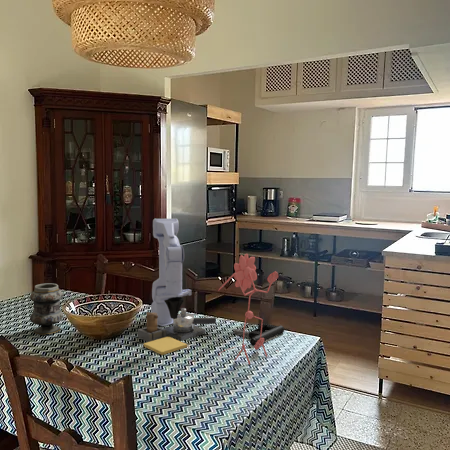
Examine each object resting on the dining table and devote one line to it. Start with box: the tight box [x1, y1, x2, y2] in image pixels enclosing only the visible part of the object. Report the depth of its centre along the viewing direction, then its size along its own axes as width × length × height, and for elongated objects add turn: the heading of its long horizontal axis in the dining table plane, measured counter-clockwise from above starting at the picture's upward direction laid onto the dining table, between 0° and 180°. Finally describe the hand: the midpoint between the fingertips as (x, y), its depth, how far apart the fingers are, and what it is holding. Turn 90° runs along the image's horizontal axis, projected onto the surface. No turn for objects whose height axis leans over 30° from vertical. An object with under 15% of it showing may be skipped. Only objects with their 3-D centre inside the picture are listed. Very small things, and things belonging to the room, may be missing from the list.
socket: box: [137, 325, 167, 343], centre depth 169 cm, size 8×8×3 cm
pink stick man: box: [218, 253, 279, 365], centre depth 152 cm, size 15×26×35 cm, turn 137°
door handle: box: [233, 322, 285, 346], centre depth 173 cm, size 3×20×16 cm
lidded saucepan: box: [172, 307, 217, 332], centre depth 175 cm, size 16×8×8 cm, turn 96°
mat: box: [143, 335, 188, 356], centre depth 160 cm, size 11×11×1 cm
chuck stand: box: [162, 324, 206, 341], centre depth 175 cm, size 12×12×2 cm
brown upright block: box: [145, 311, 158, 333], centre depth 169 cm, size 6×4×9 cm, turn 44°
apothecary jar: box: [29, 283, 64, 336], centre depth 174 cm, size 12×12×18 cm
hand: (173, 318), depth 159 cm, fingers closed
